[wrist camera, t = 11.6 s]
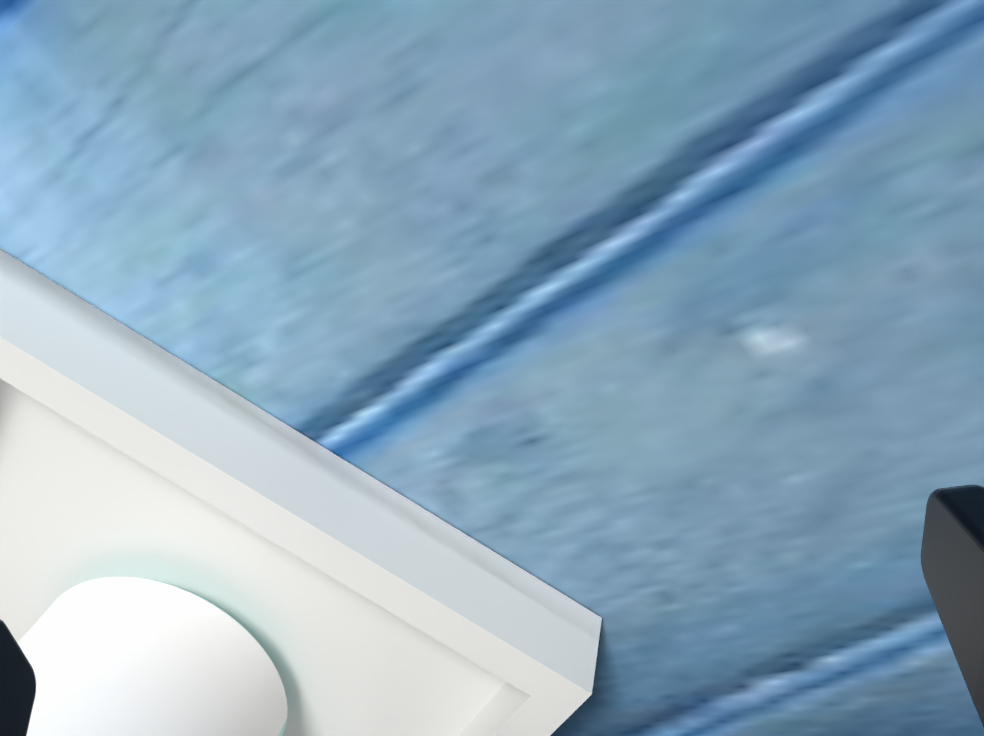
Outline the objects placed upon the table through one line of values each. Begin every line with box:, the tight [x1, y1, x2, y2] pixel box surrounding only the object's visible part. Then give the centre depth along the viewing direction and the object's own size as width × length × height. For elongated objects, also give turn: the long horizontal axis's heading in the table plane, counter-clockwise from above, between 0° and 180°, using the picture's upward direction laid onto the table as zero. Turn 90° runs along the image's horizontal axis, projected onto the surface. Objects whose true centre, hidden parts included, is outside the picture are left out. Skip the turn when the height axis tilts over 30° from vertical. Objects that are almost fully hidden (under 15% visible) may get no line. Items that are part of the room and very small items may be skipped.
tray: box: [0, 249, 602, 736], centre depth 25 cm, size 17×17×2 cm
